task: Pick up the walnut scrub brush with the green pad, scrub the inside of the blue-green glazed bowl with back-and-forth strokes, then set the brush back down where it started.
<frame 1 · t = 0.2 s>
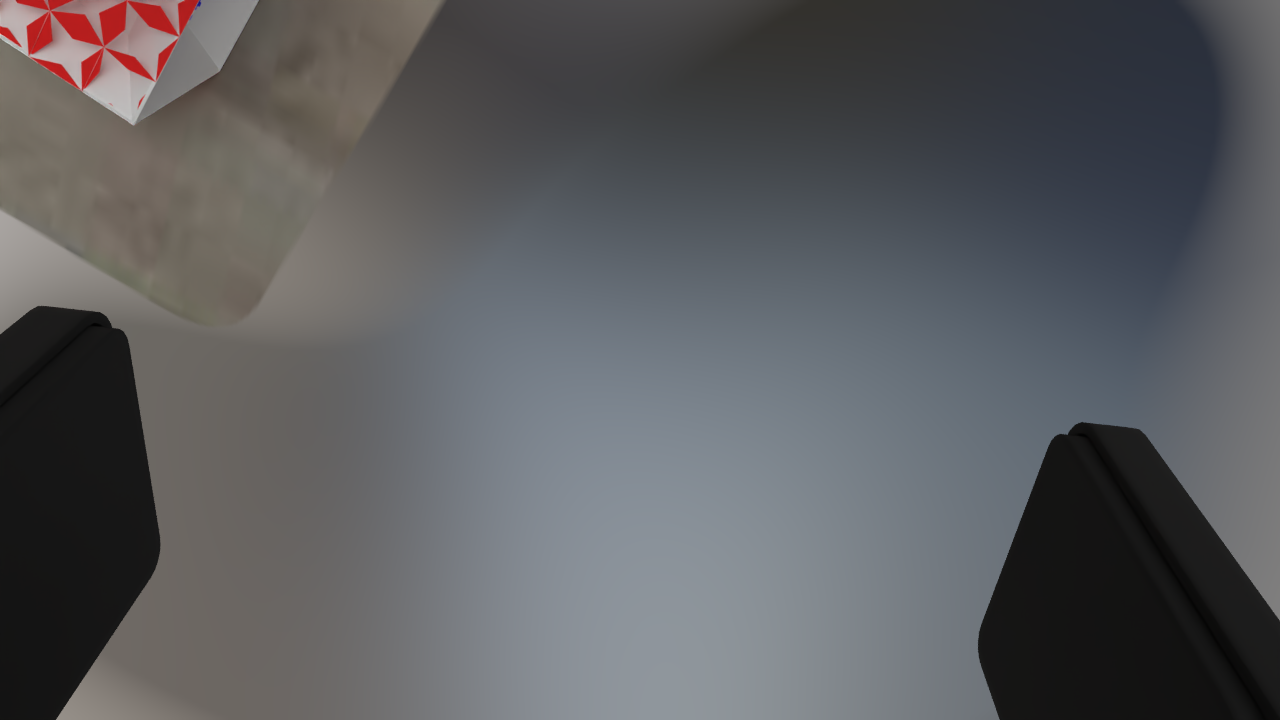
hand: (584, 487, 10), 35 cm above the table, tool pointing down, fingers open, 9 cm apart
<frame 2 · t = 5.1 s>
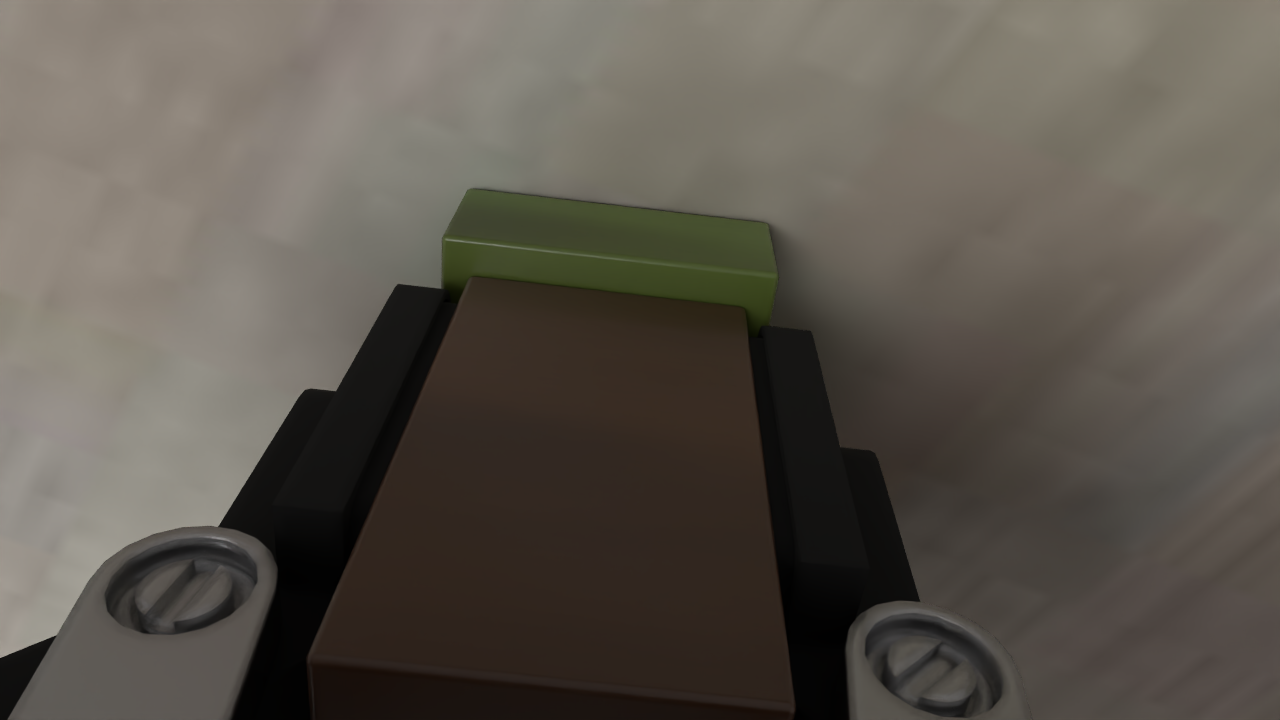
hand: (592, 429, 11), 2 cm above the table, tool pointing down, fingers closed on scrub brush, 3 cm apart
scrub brush: (603, 350, 13), on the table, touching gripper
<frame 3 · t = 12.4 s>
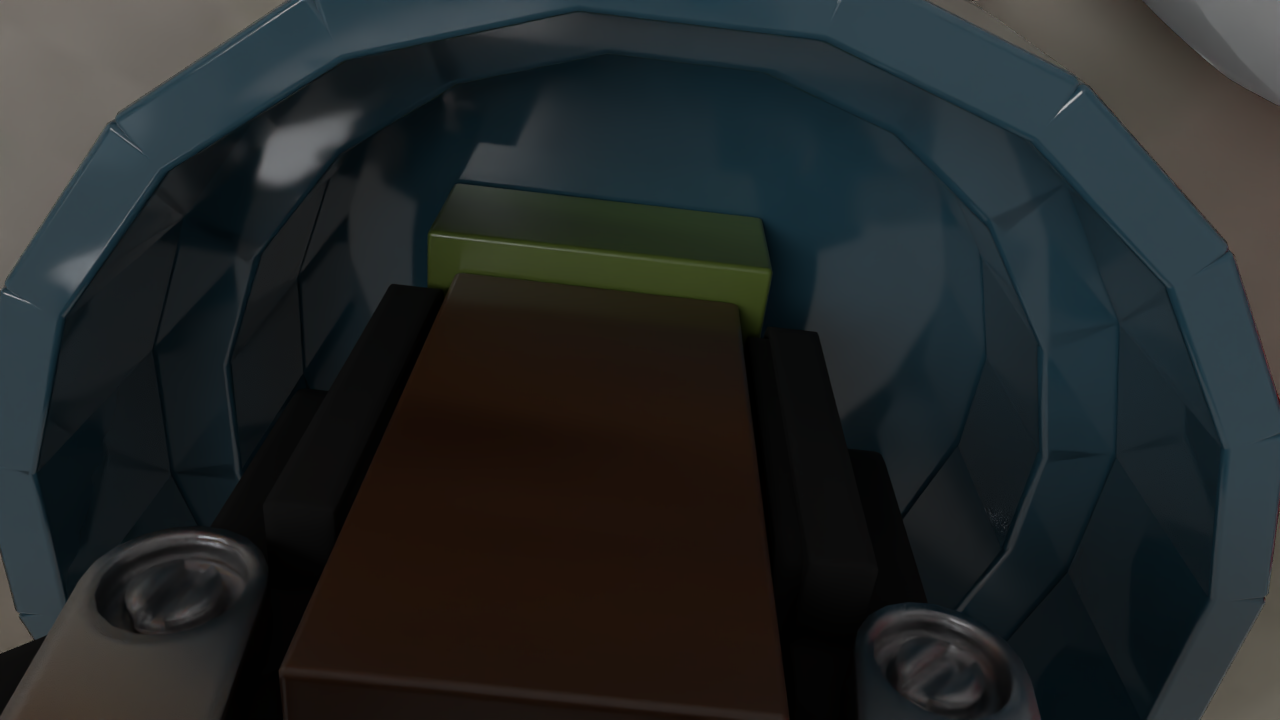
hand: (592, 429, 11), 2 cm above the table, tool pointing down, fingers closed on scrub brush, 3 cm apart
bowl: (640, 339, 13), on the table
scrub brush: (594, 348, 13), point 1 cm above the table, touching bowl, gripper
when the fingers open (2 cm above the table, at t = 20.5 s): scrub brush stays where it is, on the table.
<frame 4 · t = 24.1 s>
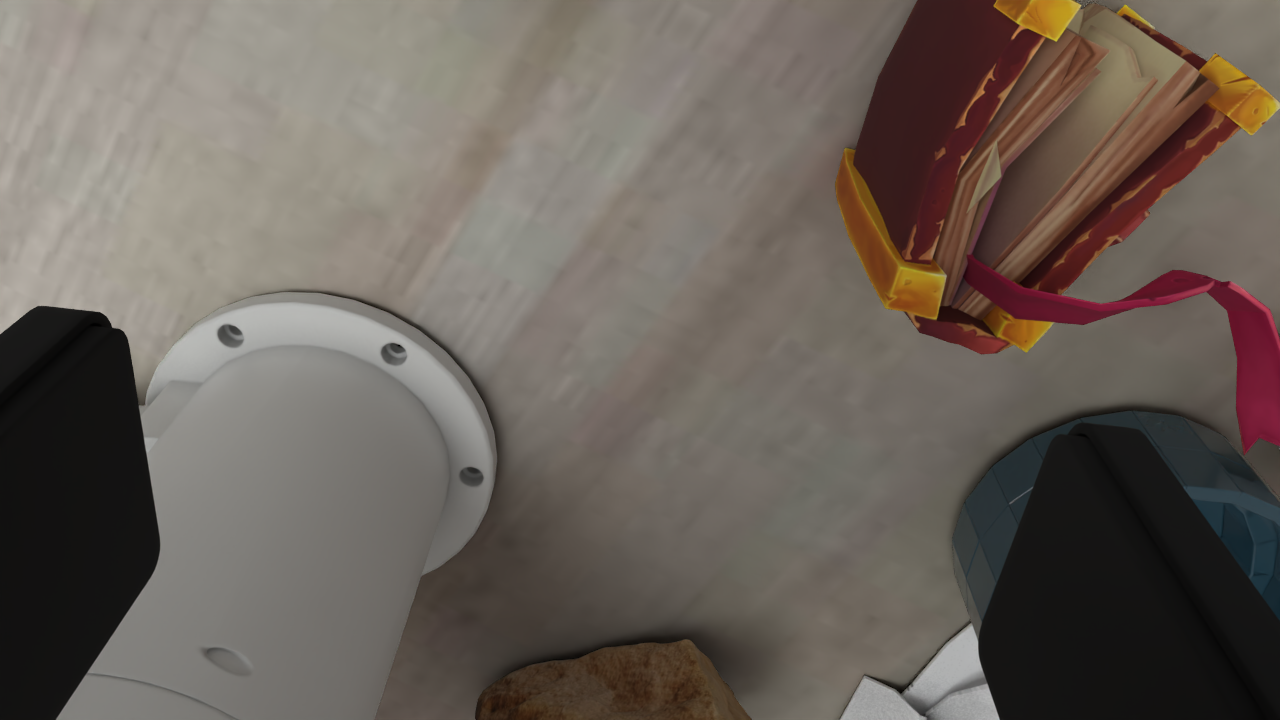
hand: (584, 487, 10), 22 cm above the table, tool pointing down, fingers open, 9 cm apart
decorative rock: (623, 663, 43), on the table
bowl: (1097, 525, 38), on the table
book monster: (1018, 140, 31), on the table
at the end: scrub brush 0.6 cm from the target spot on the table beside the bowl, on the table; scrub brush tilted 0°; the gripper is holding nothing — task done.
